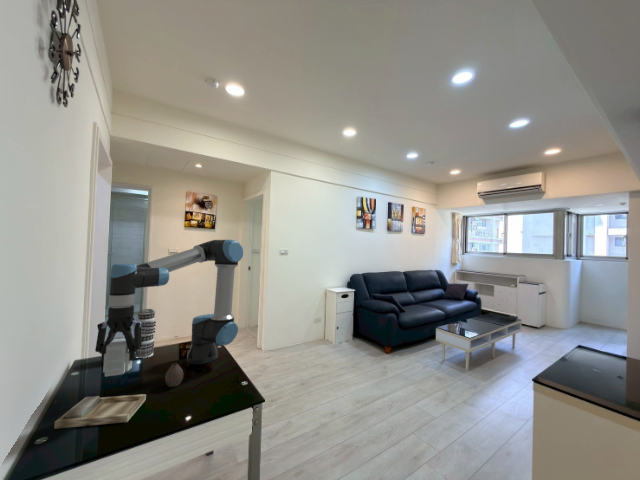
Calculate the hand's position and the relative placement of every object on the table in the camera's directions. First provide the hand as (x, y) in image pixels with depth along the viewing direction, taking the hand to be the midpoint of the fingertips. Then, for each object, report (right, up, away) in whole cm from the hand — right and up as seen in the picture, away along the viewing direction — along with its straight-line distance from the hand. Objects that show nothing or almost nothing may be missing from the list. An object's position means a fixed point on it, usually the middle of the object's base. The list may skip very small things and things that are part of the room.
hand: (117, 370), depth 92 cm
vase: (+10, -16, +18) cm, 26 cm away
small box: (0, -1, 0) cm, 1 cm away
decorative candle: (-23, -17, +48) cm, 56 cm away
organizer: (-4, -15, -1) cm, 15 cm away
